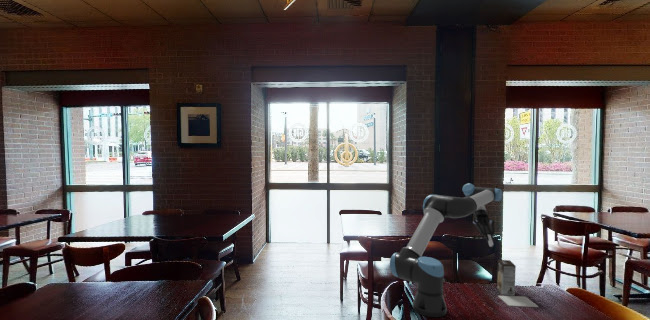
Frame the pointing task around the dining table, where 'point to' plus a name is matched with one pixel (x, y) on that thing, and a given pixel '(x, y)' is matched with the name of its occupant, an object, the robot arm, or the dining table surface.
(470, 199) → the robot arm
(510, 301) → the mat
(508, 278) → the coffee box
